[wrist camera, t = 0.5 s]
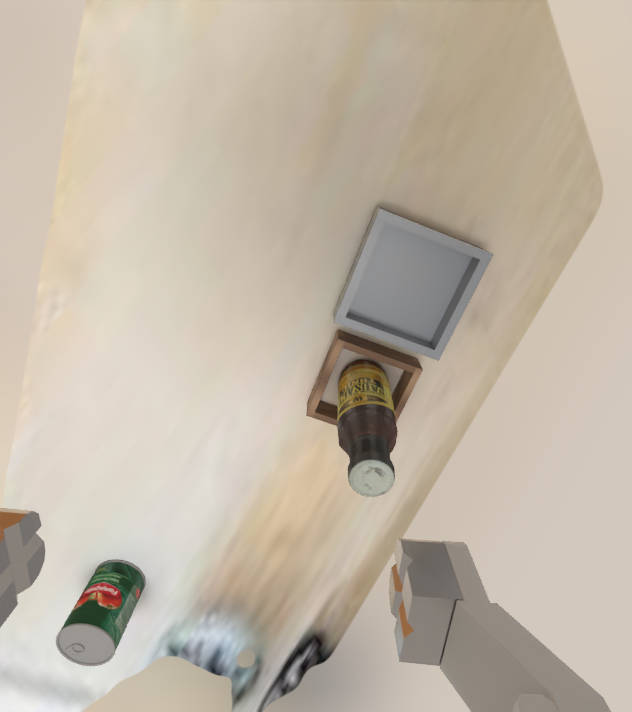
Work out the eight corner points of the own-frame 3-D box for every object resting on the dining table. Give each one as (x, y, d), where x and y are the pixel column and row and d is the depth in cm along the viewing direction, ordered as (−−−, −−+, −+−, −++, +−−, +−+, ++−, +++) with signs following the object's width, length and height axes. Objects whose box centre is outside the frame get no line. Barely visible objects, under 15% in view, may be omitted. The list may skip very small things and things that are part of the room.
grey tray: (376, 206, 50) (380, 208, 46) (482, 249, 51) (493, 254, 48) (333, 313, 54) (333, 322, 51) (432, 349, 56) (438, 360, 52)
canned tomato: (124, 552, 69) (89, 617, 59) (155, 586, 71) (126, 655, 61) (84, 570, 70) (43, 637, 60) (116, 603, 73) (81, 673, 63)
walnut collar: (337, 329, 55) (338, 339, 52) (417, 358, 56) (422, 369, 53) (307, 402, 59) (306, 415, 55) (382, 428, 60) (386, 442, 57)
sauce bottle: (379, 351, 56) (405, 437, 37) (392, 394, 58) (423, 496, 40) (329, 366, 57) (329, 457, 38) (343, 408, 59) (351, 514, 40)
